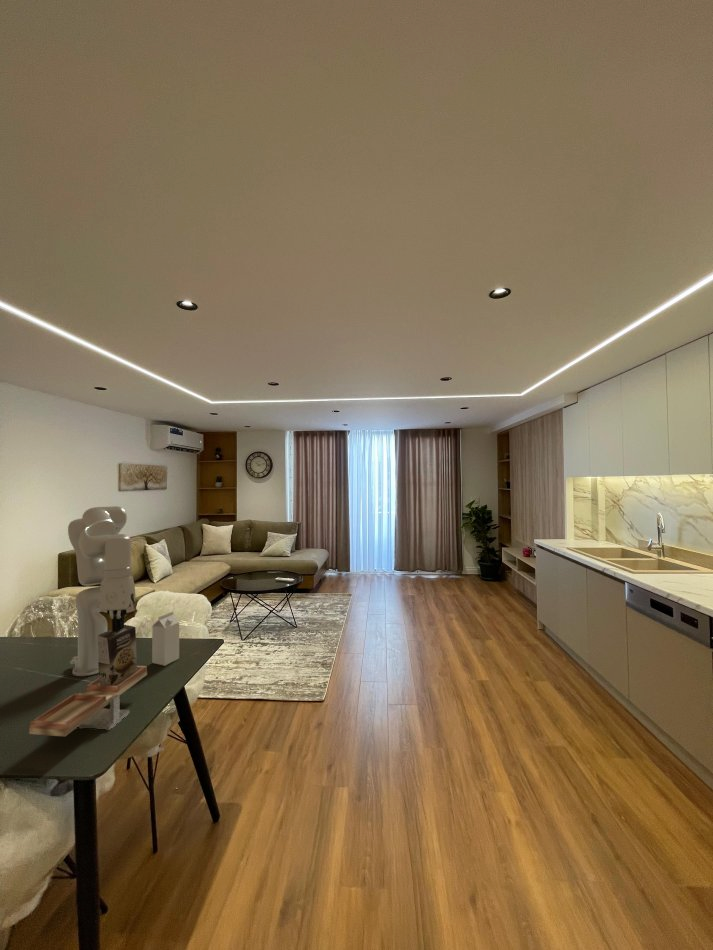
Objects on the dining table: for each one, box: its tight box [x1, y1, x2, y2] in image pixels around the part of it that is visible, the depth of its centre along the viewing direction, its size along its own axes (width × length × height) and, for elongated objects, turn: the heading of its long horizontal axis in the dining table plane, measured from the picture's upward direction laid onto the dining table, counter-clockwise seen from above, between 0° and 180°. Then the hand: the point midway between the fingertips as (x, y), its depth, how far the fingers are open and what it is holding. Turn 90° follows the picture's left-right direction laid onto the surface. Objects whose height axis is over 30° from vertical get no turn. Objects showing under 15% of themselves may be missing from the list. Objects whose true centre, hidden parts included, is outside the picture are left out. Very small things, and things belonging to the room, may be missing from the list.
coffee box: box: [98, 624, 138, 686], centre depth 123 cm, size 9×6×16 cm
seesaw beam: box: [28, 665, 148, 737], centre depth 115 cm, size 11×32×4 cm, turn 173°
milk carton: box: [151, 611, 180, 667], centre depth 154 cm, size 7×7×19 cm
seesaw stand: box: [77, 692, 130, 731], centre depth 115 cm, size 16×8×7 cm, turn 83°
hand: (118, 629), depth 123 cm, fingers closed
